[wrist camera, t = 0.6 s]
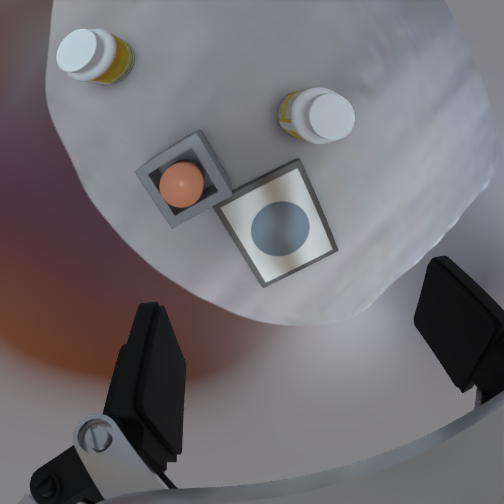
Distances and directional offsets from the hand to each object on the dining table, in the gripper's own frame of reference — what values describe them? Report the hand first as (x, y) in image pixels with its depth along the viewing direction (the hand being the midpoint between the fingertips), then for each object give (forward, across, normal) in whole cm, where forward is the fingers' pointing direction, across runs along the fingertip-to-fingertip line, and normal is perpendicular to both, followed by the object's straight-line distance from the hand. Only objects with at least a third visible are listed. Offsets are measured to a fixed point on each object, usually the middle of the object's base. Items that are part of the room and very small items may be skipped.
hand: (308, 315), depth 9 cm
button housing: (+25, +6, 0) cm, 26 cm away
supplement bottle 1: (+25, +13, -15) cm, 32 cm away
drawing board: (+25, -3, +8) cm, 26 cm away
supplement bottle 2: (+25, -7, -5) cm, 27 cm away
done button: (+21, +7, 0) cm, 22 cm away
